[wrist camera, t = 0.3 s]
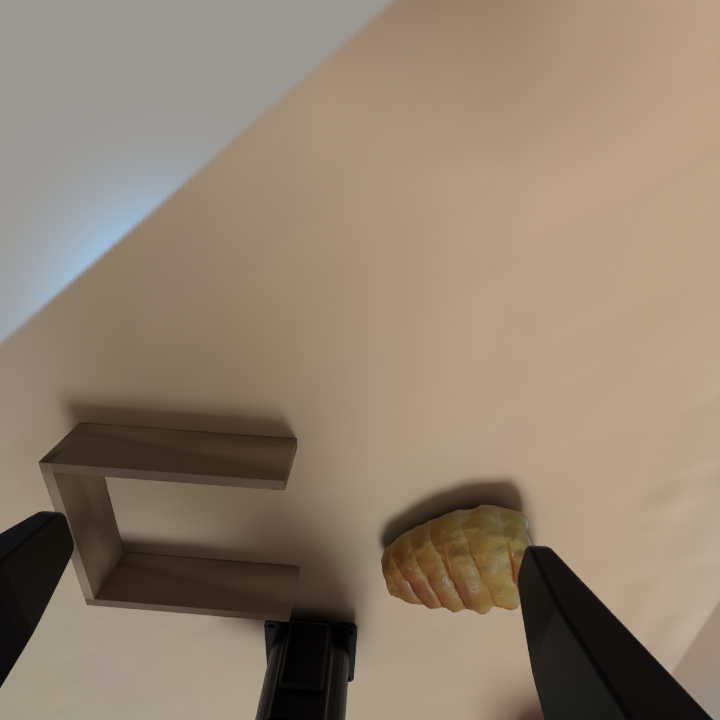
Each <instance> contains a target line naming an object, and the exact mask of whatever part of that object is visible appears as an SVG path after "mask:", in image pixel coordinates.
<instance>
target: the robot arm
mask: <svg viewBox="0 0 720 720" xmlns="http://www.w3.org/2000/svg"><path fill="white" fill-rule="evenodd" d="M73 550H74V540H73V537H72V534H71V531H70V528H69V525H68V522H67V519H66V516H65V515H64V514H63V513H61V512H50V511H42V512H38V513H36V514H34V515H33V516H31V517H29V518H27V519H25V520H24V521H22V522H20V523H18V524H17V525H15V526H13V527H11V528H10V529H8V530H6V531H4V532H3V533H1V534H0V688H1V686H2V684H3V683H4V681H5V679H6V678H7V676H8V674H9V673H10V671H11V669H12V668H13V666H14V664H15V663H16V661H17V660H18V658H19V656H20V655H21V653H22V651H23V650H24V648H25V646H26V645H27V643H28V641H29V639H30V638H31V636H32V634H33V632H34V630H35V629H36V627H37V625H38V623H39V621H40V619H41V617H42V615H43V613H44V611H45V609H46V607H47V605H48V603H49V601H50V599H51V597H52V595H53V593H54V590H55V588H56V586H57V584H58V582H59V580H60V578H61V576H62V574H63V572H64V570H65V568H66V566H67V564H68V562H69V560H70V558H71V556H72V553H73ZM518 591H519V597H520V603H521V609H522V615H523V621H524V627H525V633H526V639H527V645H528V651H529V657H530V662H531V668H532V673H533V677H534V681H535V685H536V689H537V693H538V697H539V700H540V704H541V708H542V711H543V715H544V719H545V720H713V719H712V718H711V717H710V716H709V715H708V714H707V713H706V712H705V711H704V709H703V708H701V706H700V705H699V704H698V703H697V702H696V701H695V700H694V699H693V698H692V697H691V696H690V695H689V694H688V693H687V692H686V690H685V689H684V688H683V687H682V686H681V685H680V684H679V683H678V682H677V681H676V680H675V679H674V678H673V677H672V676H671V675H670V674H669V672H668V671H667V670H666V669H665V668H664V667H663V666H662V665H661V664H660V663H659V662H658V661H657V660H656V659H655V658H654V657H653V656H652V655H651V653H650V652H649V651H648V650H647V649H646V648H645V647H644V646H643V645H642V644H641V643H640V642H639V641H638V640H637V639H636V638H635V637H634V635H633V634H632V633H631V632H630V631H629V630H628V629H627V628H626V627H625V626H624V625H623V624H622V623H621V622H620V621H619V620H618V619H617V618H616V616H615V615H614V614H613V613H612V612H611V611H610V610H609V609H608V608H607V607H606V606H605V605H604V604H603V603H602V602H601V601H600V600H599V599H598V597H597V596H596V595H595V594H594V593H593V592H592V591H591V590H590V589H589V588H588V587H587V586H586V585H585V584H584V583H583V582H582V581H581V579H580V578H579V577H578V576H577V575H576V574H575V573H574V572H573V571H572V570H571V569H570V568H569V567H568V566H567V565H566V564H565V563H564V562H563V560H562V559H561V558H560V557H559V556H558V555H557V554H556V553H555V552H554V551H553V550H552V549H551V548H549V547H546V546H534V545H529V546H527V547H526V549H525V551H524V555H523V558H522V562H521V565H520V569H519V572H518ZM264 628H265V642H266V656H267V669H266V674H265V678H264V683H263V687H262V692H261V696H260V701H259V705H258V710H257V714H256V718H255V720H345V715H346V701H347V687H348V682H351V681H353V679H354V667H355V654H356V641H357V626H356V624H354V623H347V622H336V621H324V620H312V619H300V618H290V619H289V622H282V621H271V620H266V621H265V625H264Z"/></svg>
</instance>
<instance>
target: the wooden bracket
mask: <svg viewBox="0 0 720 720" xmlns="http://www.w3.org/2000/svg"><path fill="white" fill-rule="evenodd" d="M296 449H297V439H289V438H275V437H262V436H248V435H235V434H222V433H208V432H195V431H181V430H168V429H155V428H141V427H128V426H114V425H101V424H88V423H79V424H78V425H77V426H76V427H75V428H74V429H73V430H72V431H71V432H70V433H69V434H68V435H67V436H65V437H64V438H63V439H62V440H61V441H60V442H59V443H58V444H57V445H56V446H55V447H54V448H53V449H52V450H51V451H50V452H49V453H48V454H47V455H46V456H45V457H43V458H42V459H41V460H40V461H39V462H38V463H39V466H40V469H41V472H42V474H43V477H44V480H45V483H46V486H47V489H48V492H49V495H50V498H51V501H52V504H53V507H54V510H55V512H61V513H63V514H64V515H65V516H66V519H67V522H68V525H69V528H70V531H71V534H72V537H73V540H74V550H73V553H72V556H71V560H72V563H73V566H74V569H75V572H76V574H77V577H78V580H79V583H80V586H81V589H82V592H83V595H84V598H85V601H86V604H87V605H94V606H106V607H117V608H129V609H141V610H153V611H165V612H176V613H188V614H200V615H212V616H223V617H235V618H247V619H259V620H271V621H282V622H289V619H290V614H291V609H292V604H293V599H294V594H295V589H296V584H297V579H298V574H299V567H298V566H286V565H273V564H261V563H249V562H237V561H224V560H212V559H200V558H188V557H175V556H163V555H151V554H139V553H126V552H123V548H122V544H121V540H120V536H119V533H118V529H117V525H116V521H115V517H114V514H113V510H112V506H111V502H110V498H109V494H108V491H107V487H106V483H105V479H104V476H105V477H118V478H131V479H144V480H157V481H169V482H182V483H195V484H208V485H221V486H234V487H247V488H260V489H273V490H285V488H286V484H287V481H288V477H289V474H290V470H291V467H292V463H293V460H294V456H295V453H296Z"/></svg>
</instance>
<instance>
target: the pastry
mask: <svg viewBox="0 0 720 720" xmlns="http://www.w3.org/2000/svg"><path fill="white" fill-rule="evenodd" d="M528 527H529V522H528V520H527V517H526V515H524V514H523V513H521V512H519V511H515V510H511V509H506V508H503V507H500V506H496V505H479V506H478V507H477V508H474V509H469V510H462V509H459V510H456V511H453V512H451V513H447V514H444V515H443V516H441V517H440V518H436V519H433V520H429V521H428V522H426V523H425V524H422V525H418V526H417V527H415V528H413V529H410V530H408V531H406V532H405V533H404V534H402V535H401V536H399V537H397V539H396V540H395V541H394V542H393V543H392V544H391V545H390V546H388V547H387V548H386V549H385V551H384V553H383V556H382V559H381V563H382V571H383V575H384V578H385V580H386V584H387V589H388V591H389V593H390V595H392V596H395V597H397V598H400V599H402V600H404V601H405V602H408V603H412V604H419V605H422V604H423V605H425V606H426V607H428V608H429V609H433V608H440V607H445V608H447V609H449V610H451V611H452V612H458V611H461V610H463V609H470V610H474V611H476V612H477V613H479V614H486V613H487V612H489V610H490V609H491V608H492V606H496V607H500V608H505V609H508V610H514V609H516V608H517V607H518V605H519V603H520V597H519V591H518V572H519V569H520V565H521V562H522V558H523V555H524V551H525V549H526V547H527V546H529V545H532V543H531V541H530V539H529V536H528V533H527V530H528Z"/></svg>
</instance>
